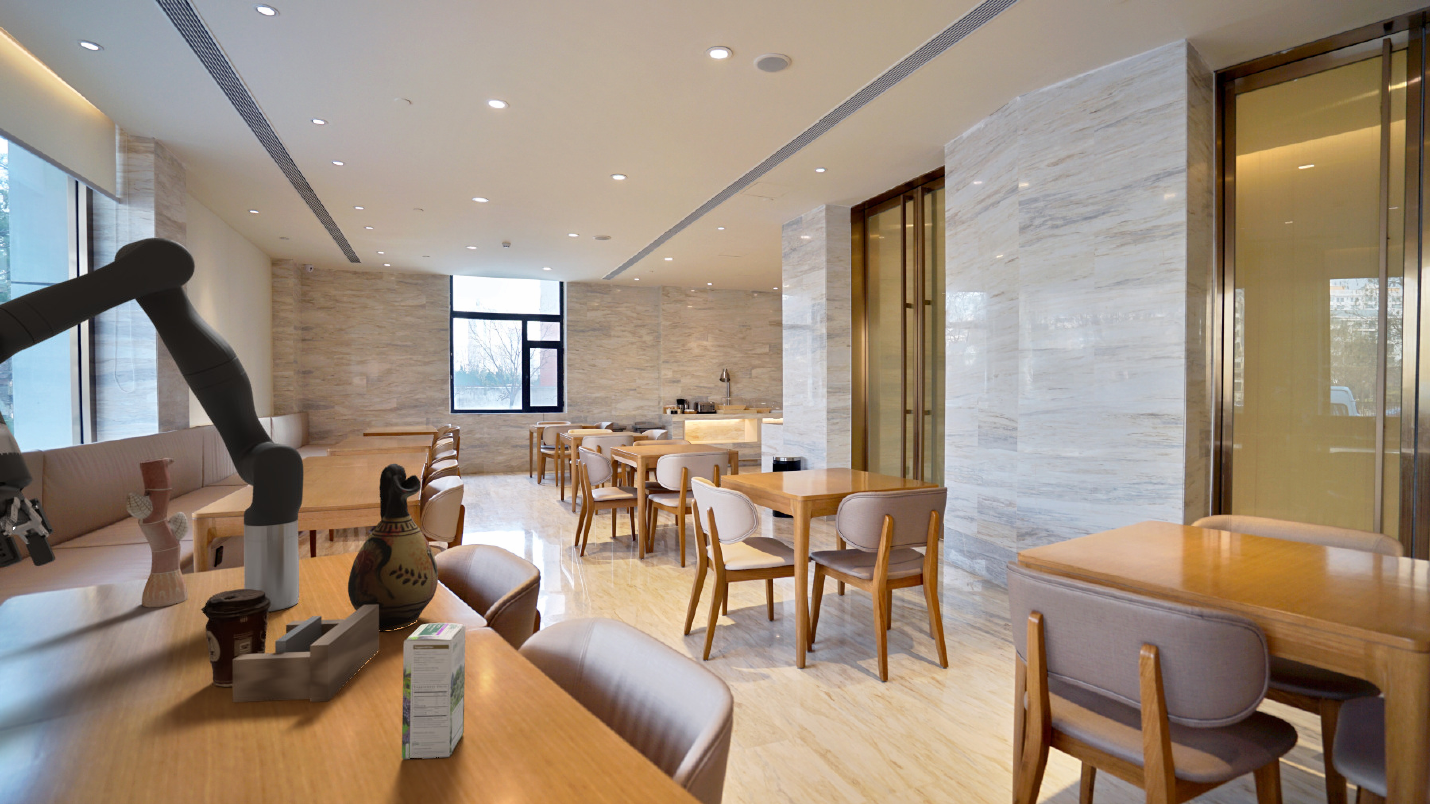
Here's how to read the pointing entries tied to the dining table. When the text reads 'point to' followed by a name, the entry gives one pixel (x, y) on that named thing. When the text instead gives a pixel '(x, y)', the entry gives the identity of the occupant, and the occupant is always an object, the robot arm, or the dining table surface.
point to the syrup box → (433, 690)
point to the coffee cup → (235, 629)
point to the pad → (300, 636)
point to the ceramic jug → (394, 558)
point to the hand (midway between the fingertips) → (29, 564)
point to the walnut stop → (310, 662)
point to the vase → (160, 534)
